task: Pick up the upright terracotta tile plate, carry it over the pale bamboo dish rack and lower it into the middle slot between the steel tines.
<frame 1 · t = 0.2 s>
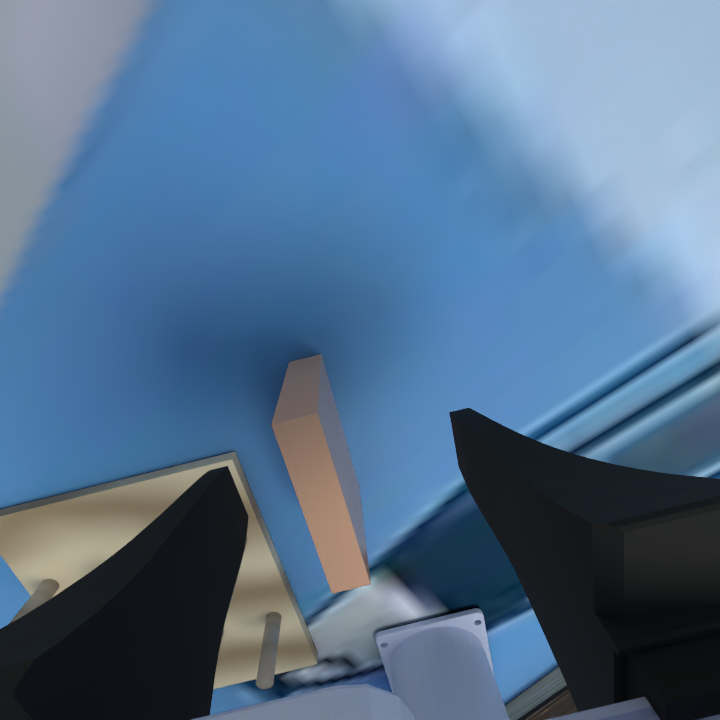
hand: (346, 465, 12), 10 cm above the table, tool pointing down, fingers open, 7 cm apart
hardcover book: (619, 712, 35), on the table
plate: (326, 427, 23), on the table
dish rack: (172, 590, 26), on the table
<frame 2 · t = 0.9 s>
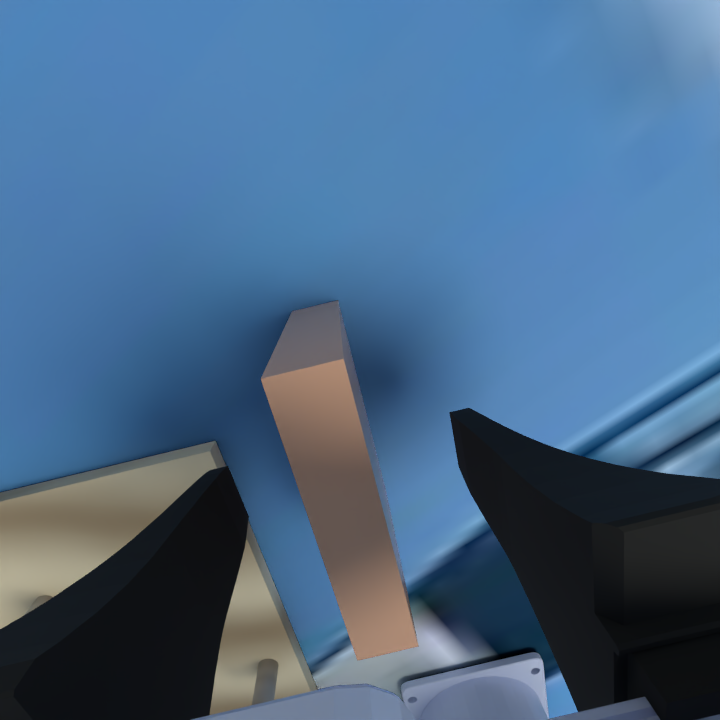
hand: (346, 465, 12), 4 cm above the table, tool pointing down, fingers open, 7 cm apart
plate: (343, 408, 16), on the table
dish rack: (132, 629, 19), on the table
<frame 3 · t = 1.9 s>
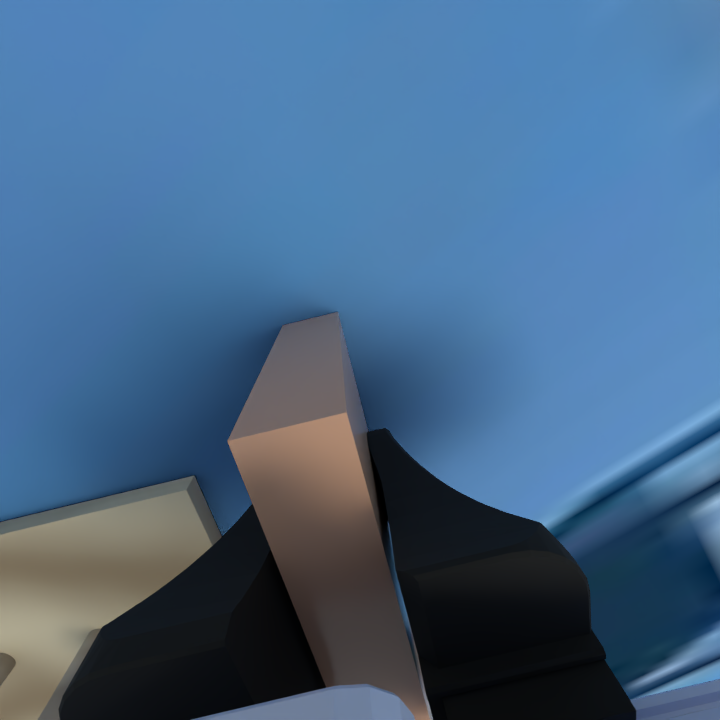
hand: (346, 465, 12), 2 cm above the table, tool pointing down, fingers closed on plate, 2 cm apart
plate: (344, 438, 14), on the table, touching gripper
dish rack: (103, 684, 17), on the table
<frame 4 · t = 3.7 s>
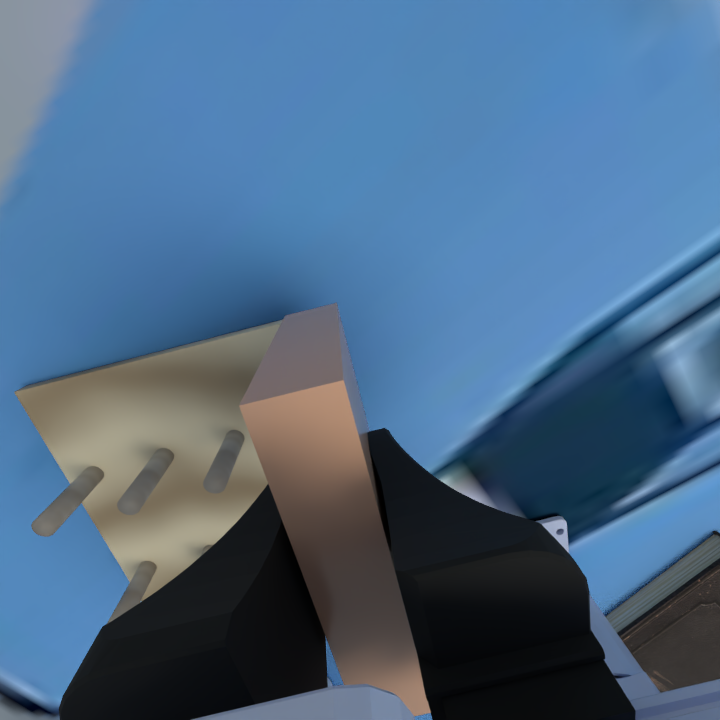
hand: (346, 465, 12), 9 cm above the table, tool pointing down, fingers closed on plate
hardcover book: (696, 649, 33), on the table
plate: (343, 424, 15), point 7 cm above the table, touching gripper
dish rack: (226, 488, 23), on the table
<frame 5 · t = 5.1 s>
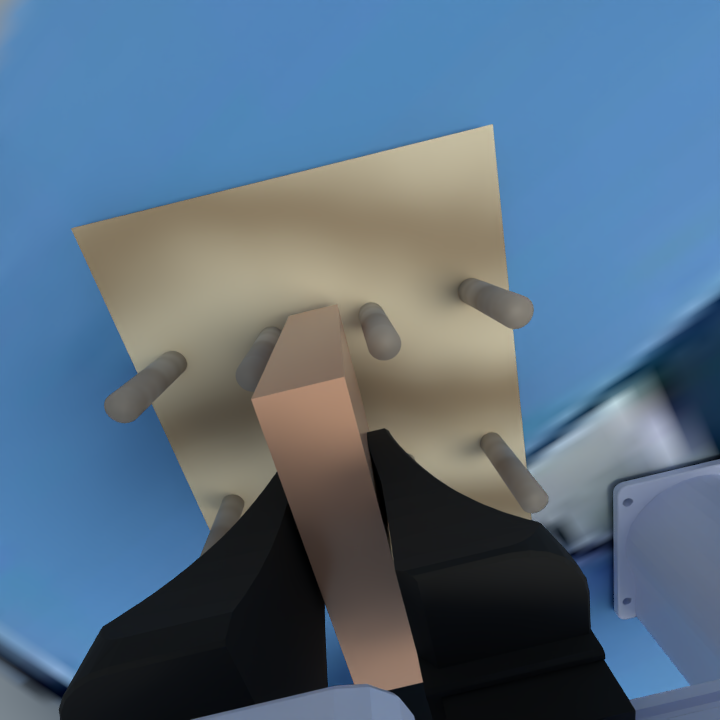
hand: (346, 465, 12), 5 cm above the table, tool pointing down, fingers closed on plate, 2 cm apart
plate: (343, 418, 15), point 2 cm above the table, touching gripper
dixie cup: (401, 674, 24), on the table
dish rack: (342, 397, 17), on the table
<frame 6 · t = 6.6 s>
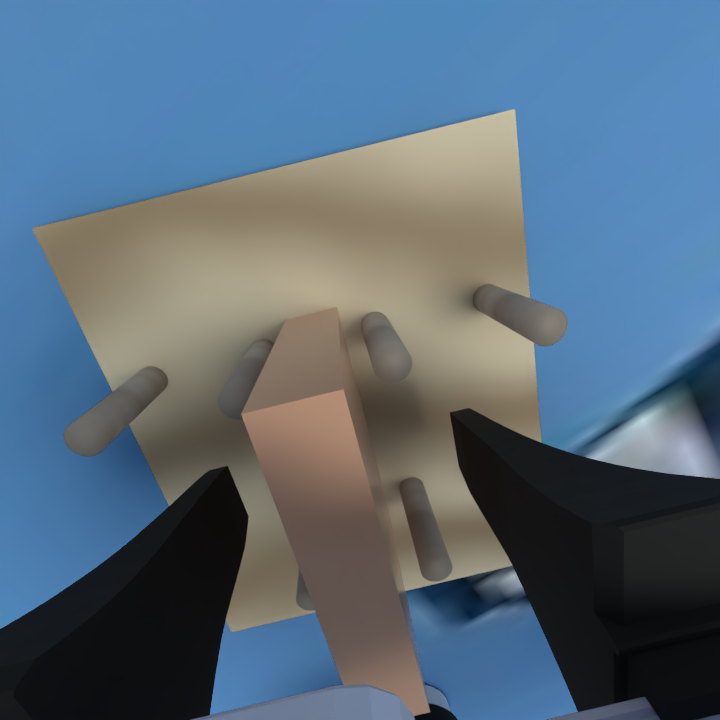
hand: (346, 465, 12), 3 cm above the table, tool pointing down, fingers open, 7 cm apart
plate: (343, 426, 15), point 1 cm above the table, touching dish rack
dixie cup: (405, 707, 22), on the table
dish rack: (342, 415, 15), on the table
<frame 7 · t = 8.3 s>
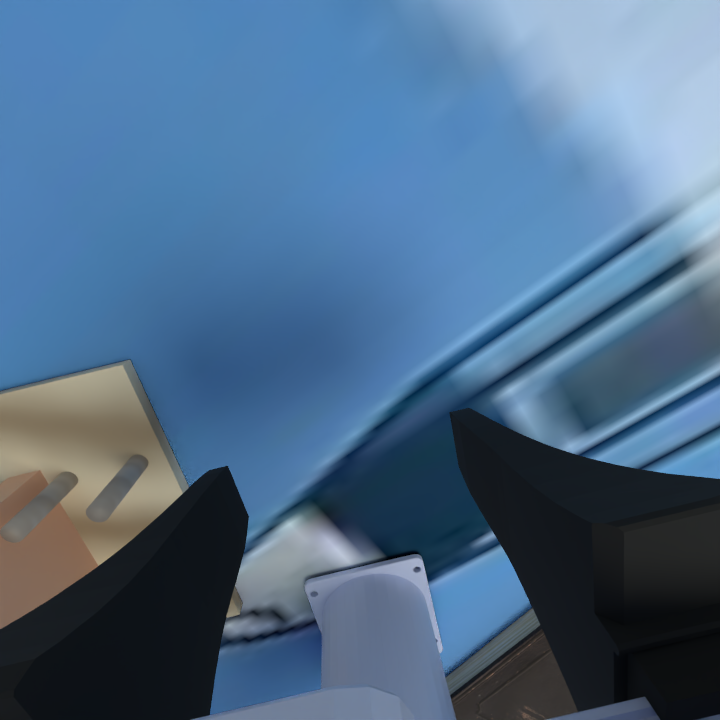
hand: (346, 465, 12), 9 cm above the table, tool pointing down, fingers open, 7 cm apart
hardcover book: (580, 681, 33), on the table
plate: (63, 537, 23), point 1 cm above the table, touching dish rack
dish rack: (72, 526, 23), on the table
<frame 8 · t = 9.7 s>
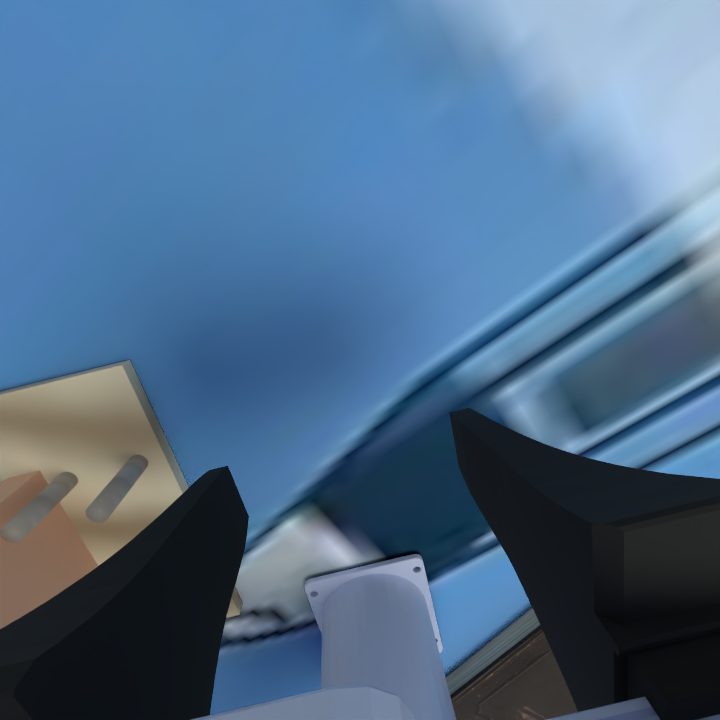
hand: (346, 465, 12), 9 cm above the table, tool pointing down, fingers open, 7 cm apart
hardcover book: (580, 681, 33), on the table
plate: (63, 537, 23), point 1 cm above the table, touching dish rack
dish rack: (72, 526, 23), on the table
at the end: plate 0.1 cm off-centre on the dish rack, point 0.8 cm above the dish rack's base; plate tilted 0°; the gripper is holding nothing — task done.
